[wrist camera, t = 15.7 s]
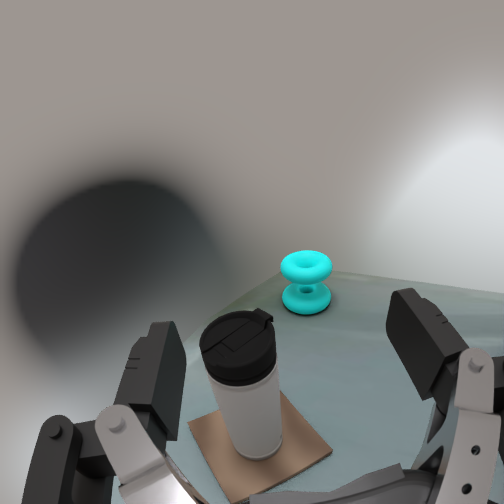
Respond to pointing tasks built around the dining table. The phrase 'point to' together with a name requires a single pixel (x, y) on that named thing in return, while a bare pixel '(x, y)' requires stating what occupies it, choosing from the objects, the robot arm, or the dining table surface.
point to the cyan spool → (306, 281)
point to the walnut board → (262, 471)
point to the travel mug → (245, 380)
